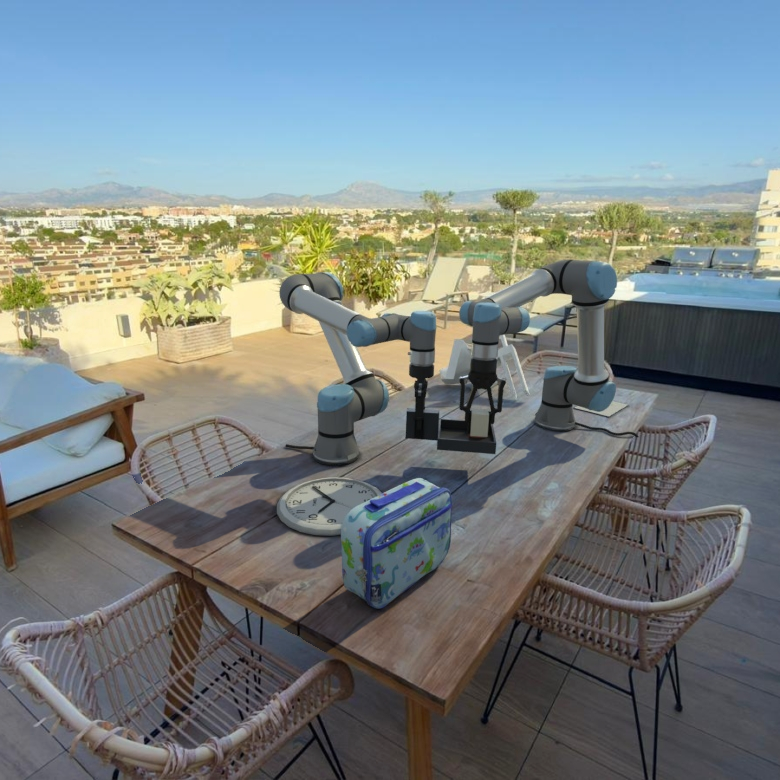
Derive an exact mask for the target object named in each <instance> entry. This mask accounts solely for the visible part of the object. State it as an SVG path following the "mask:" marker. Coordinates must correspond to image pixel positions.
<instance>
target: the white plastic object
mask: <svg viewBox="0 0 780 780" xmlns="http://www.w3.org/2000/svg"><path fill="white" fill-rule="evenodd" d="M499 339H500V342H501V345H502V347H500V348H498V356H497V357H496V359H497V368H499V367H500V366H502V370H503V373H504V376H505V381H506V384H507V386H508V390H509V393H510V394H511V395H512V397H513V398H514V399H515V400H517V392H516V391H517V390H516V388H515V385H514V381H513V378H512V375H511V371H510V369H509V365H508V361H510V360H513V363H514V366H515V369H516V372H517V376H518V380H519V382H520V385H521V389H522V391H523V393H524V395H525V396H526V397H528V396H531V395H530V390H529V388H528V387H529V386H528V384H527V381H526V378H525V375H524V371H523V369H522V368H523V367H522V366H521V362H520V359H519V355H518V352H517V349H516V347H515V346H514V345H513V343H511V344H508V341H507V337H506V334H505V335H499ZM471 347H472V346H469V345H468V343H466V342H465V340H464V339H463V338H460V339H458V338H454V340H453V344H452V349H451V353H450V357H449V362H448V366H446V367H444V368H442V369H440V370H439V371H438V372H439V376H440V381H442V383H443V384H444V385H445V386H449V385H458V384H460V381H459V378H460V376H462V377H464V376H468V374H469V372H470V363H471V358H472V356H471ZM469 383H471V382H470V380H467V384H469Z"/></svg>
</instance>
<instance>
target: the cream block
mask: <svg viewBox="0 0 780 780" xmlns="http://www.w3.org/2000/svg"><path fill="white" fill-rule="evenodd" d="M470 410H471V411H472V416H471V431H470V436H478V437H487V436H488V423H489V412H488V411H489V409H488V408H472V407H471V409H470Z"/></svg>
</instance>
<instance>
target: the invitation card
mask: <svg viewBox="0 0 780 780" xmlns="http://www.w3.org/2000/svg"><path fill="white" fill-rule="evenodd" d="M628 406H629V404H627V403H623V402H618V401H614V400H613V401H612V402H611V404H610V405H609V406H608V408H606V409H605V410H604V411H601V412H597V411H593V410H589V409H586V408H583V407H580V406H577V405H575V406H574V407H573V409H575V410H581V411H584V412H587V413H593V414H596V415H600V416H604V417H608V418H609V417H611V416H613V415H614V414H616V413H617V412H619V411H621V410H623V409H624V408H626V407H628Z"/></svg>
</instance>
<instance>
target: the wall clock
mask: <svg viewBox="0 0 780 780" xmlns="http://www.w3.org/2000/svg"><path fill="white" fill-rule="evenodd" d="M382 493H383V492H382V491H381V490H380V489H379V488H377V487H376V486H374V485H372V484H371V483H369V482H365V481H362V480H359V479H355V478H349V477H338V476H337V477H335V476H333V477H332V476H331V477H322V478H317V479H312V480H307V481H305V482H302V483H299V484H297V485H295V486H293V487H292V488H290V489H288V490H287V491H286V492H285V493H284V494H283V495H281V496H280V498H279V499H278V502H277V503H276V515H277V517H278V518H279V520H280V521H281V522H282V523H283V524H285V525H286V526H287V527H288V528H290V529H293V530H295V531H297V532H299V533H303V534H308V535H312V536H327V537H328V536H329V537H331V536H332V537H333V536H341V528H342V523H343V520H344V518H345V517H346V515H347V514H348V512H349V511H350V510H351V509H353V508H354V507H356V506H358V505H360V504H362V503H364V502H366V501H368V500H370V499H372V498H374V497H376V496H378V495H380V494H382Z"/></svg>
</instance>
